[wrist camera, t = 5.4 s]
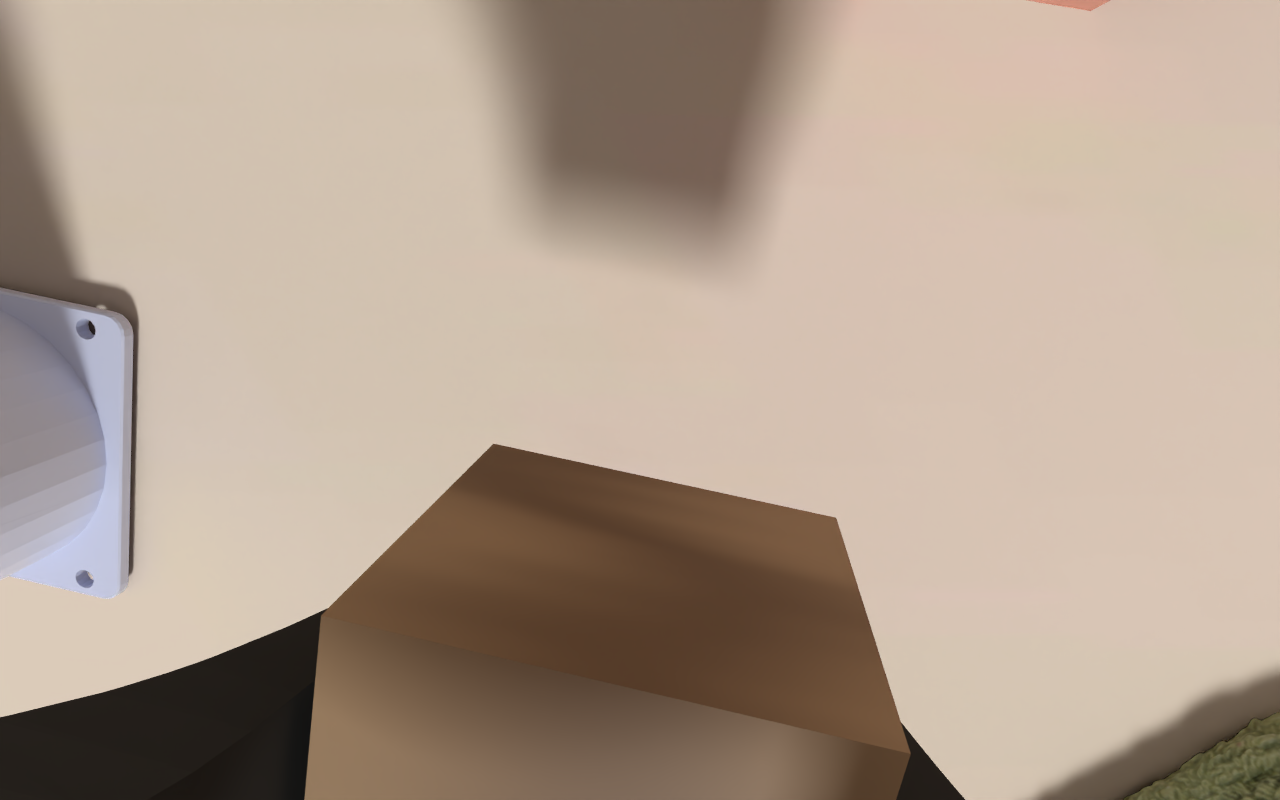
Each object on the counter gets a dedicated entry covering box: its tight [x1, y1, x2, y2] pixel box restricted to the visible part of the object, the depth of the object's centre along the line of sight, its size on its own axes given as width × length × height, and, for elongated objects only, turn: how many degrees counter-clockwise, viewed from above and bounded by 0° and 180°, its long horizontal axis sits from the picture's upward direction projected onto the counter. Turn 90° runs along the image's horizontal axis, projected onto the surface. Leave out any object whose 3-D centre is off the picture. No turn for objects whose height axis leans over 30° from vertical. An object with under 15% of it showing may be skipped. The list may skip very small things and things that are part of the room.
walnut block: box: [304, 444, 911, 800], centre depth 10 cm, size 5×5×5 cm
